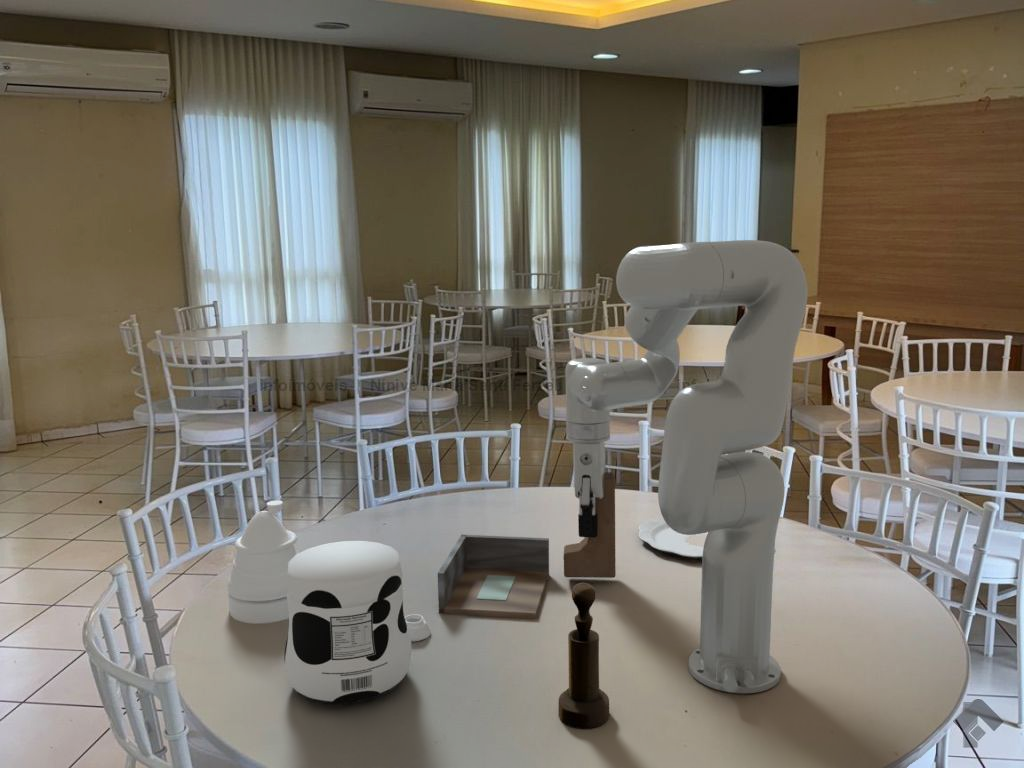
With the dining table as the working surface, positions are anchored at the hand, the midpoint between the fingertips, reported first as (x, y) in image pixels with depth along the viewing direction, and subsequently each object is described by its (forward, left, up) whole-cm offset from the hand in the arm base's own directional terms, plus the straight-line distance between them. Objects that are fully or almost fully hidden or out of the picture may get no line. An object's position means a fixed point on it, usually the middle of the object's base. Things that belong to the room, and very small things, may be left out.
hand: (589, 530), depth 155 cm
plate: (+22, -21, -10) cm, 32 cm away
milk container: (-40, +30, -10) cm, 51 cm away
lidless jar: (-25, +25, -10) cm, 37 cm away
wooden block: (0, 0, -8) cm, 8 cm away
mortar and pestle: (-44, -3, -10) cm, 45 cm away
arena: (-8, +15, -9) cm, 20 cm away
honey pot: (-18, +52, -10) cm, 56 cm away
